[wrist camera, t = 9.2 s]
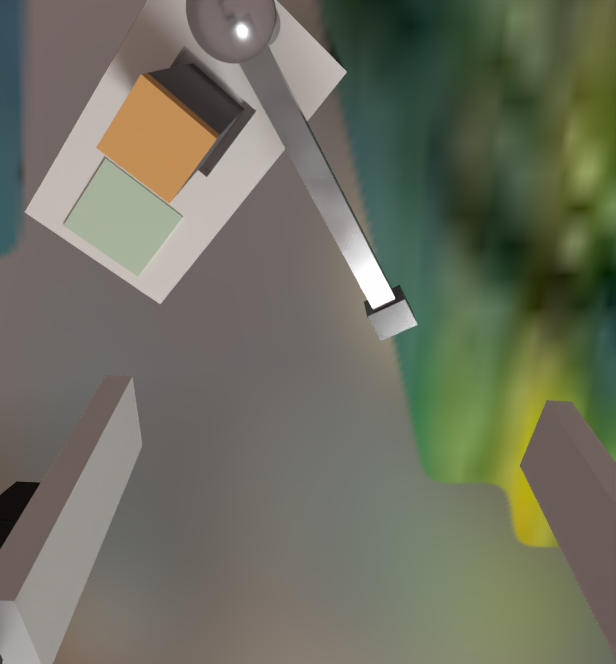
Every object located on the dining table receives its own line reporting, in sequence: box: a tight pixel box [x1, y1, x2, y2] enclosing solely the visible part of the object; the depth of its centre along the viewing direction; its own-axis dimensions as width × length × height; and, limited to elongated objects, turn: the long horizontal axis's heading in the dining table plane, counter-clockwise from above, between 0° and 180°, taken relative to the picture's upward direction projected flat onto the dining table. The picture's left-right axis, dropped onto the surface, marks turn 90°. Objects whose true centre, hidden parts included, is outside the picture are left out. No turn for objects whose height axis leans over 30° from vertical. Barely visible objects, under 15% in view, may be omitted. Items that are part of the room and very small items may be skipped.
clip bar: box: [186, 0, 417, 341], centre depth 21 cm, size 17×3×2 cm, turn 29°
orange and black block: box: [96, 63, 244, 203], centre depth 27 cm, size 4×4×11 cm
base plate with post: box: [25, 0, 346, 304], centre depth 28 cm, size 21×11×13 cm, turn 139°
